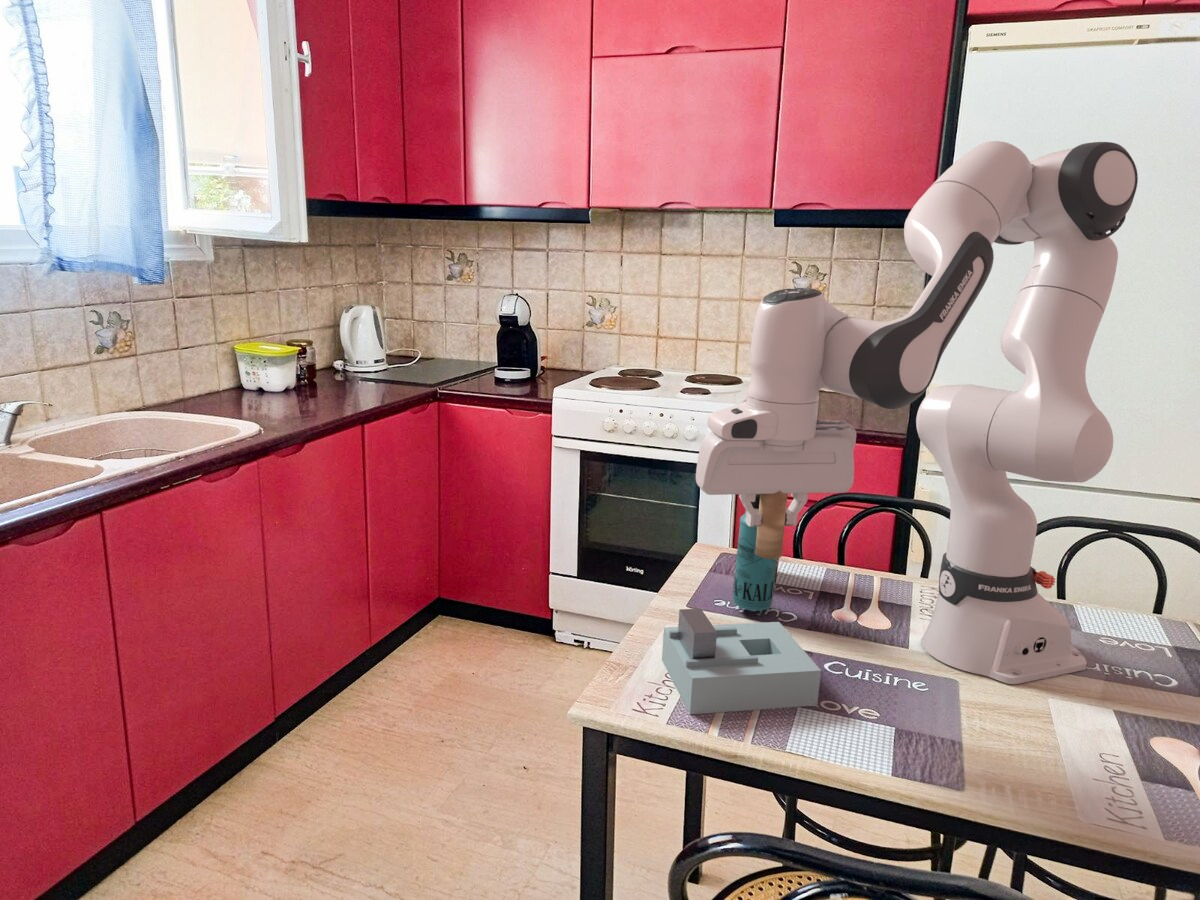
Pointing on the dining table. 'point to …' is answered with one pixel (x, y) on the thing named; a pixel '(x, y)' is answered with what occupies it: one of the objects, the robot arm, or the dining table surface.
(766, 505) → the pin
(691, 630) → the bar
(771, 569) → the beverage bottle
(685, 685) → the block
